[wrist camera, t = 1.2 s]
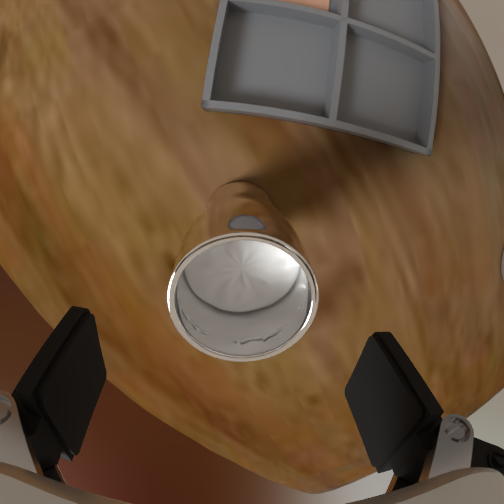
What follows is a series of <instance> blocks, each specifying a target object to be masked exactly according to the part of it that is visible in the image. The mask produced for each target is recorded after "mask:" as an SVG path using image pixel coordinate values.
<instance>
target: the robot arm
mask: <svg viewBox="0 0 504 504" xmlns="http://www.w3.org/2000/svg"><path fill="white" fill-rule="evenodd" d="M501 272H502V278H503V280H504V251H503V256H502V264H501ZM105 380H106V368H105V364H104V360H103V356H102V352H101V347H100V343H99V338H98V333H97V328H96V323H95V317H94V315H93V314H90V311H89V309H87V308H81V307H76V306H72V307H71V308H70V309H69V311H68V312H67V313H66V314H65V316H64V317H63V318H62V320H61V321H60V322H59V324H58V325H57V327H56V328H55V329H54V331H53V332H52V334H51V335H50V336H49V338H48V339H47V340H46V342H45V343H44V345H43V346H42V348H41V349H40V350H39V352H38V353H37V355H36V356H35V358H34V359H33V361H32V363H31V364H30V365H29V367H28V369H27V370H26V372H25V373H24V375H23V376H22V378H21V380H20V381H19V383H18V384H17V386H16V388H15V390H14V391H13V393H12V395H10V394H9V393H7V392H5V391H1V390H0V504H132V503H127V502H123V501H119V500H115V499H111V498H108V497H104V496H100V495H97V494H93V493H90V492H86V491H83V490H80V489H77V488H74V487H72V486H69V485H66V482H65V480H64V478H63V476H62V474H61V472H60V470H59V468H58V465H57V464H58V461H59V458H60V457H61V458H63V459H66V460H69V461H72V459H73V456H74V455H78V453H79V451H80V448H81V446H82V443H83V439H84V437H85V434H86V431H87V428H88V425H89V422H90V420H91V417H92V414H93V411H94V409H95V406H96V403H97V401H98V398H99V396H100V393H101V390H102V388H103V385H104V383H105ZM345 396H346V399H347V402H348V404H349V407H350V409H351V412H352V414H353V417H354V419H355V422H356V425H357V427H358V430H359V432H360V435H361V438H362V440H363V443H364V446H365V448H366V451H367V454H368V456H369V459H370V462H371V464H372V466H373V467H376V469H377V472H378V473H381V472H385V471H388V470H391V469H393V472H394V475H393V477H392V480H391V482H390V485H389V487H388V489H387V492H386V493H385V494H382V495H379V496H375V497H371V498H368V499H364V500H360V501H355V502H351V503H347V504H504V450H503V449H502V448H500V447H498V446H495V445H493V444H490V443H487V442H485V441H482V440H480V439H477V438H474V432H473V428H472V425H471V424H470V422H469V421H468V420H467V419H466V418H464V417H462V416H460V415H457V414H449V415H447V416H445V417H444V418H443V419H442V418H441V415H442V413H443V412H444V411H443V410H442V408H441V406H440V405H439V403H438V402H437V400H436V398H435V397H434V395H433V394H432V392H431V391H430V389H429V388H428V386H427V384H426V383H425V381H424V380H423V378H422V377H421V375H420V374H419V372H418V371H417V369H416V368H415V366H414V365H413V363H412V362H411V361H410V359H409V358H408V356H407V355H406V353H405V352H404V350H403V349H402V348H401V346H400V345H399V343H398V342H397V340H396V339H395V338H394V336H393V335H392V334H391V333H390V332H375V333H374V334H373V335H372V336H370V337H369V338H368V340H367V342H366V345H365V347H364V349H363V351H362V354H361V356H360V358H359V360H358V362H357V365H356V367H355V369H354V371H353V373H352V375H351V377H350V379H349V381H348V383H347V385H346V388H345Z"/></svg>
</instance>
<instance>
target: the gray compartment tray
mask: <svg viewBox="0 0 504 504" xmlns="http://www.w3.org/2000/svg"><path fill="white" fill-rule="evenodd" d="M439 78H440V21H439V6H438V0H220V4H219V8H218V13H217V18H216V23H215V28H214V33H213V38H212V43H211V48H210V54H209V59H208V65H207V71H206V77H205V84H204V90H203V97H202V103H201V107H202V108H203V109H204V110H205V111H215V112H225V113H235V114H243V115H251V116H258V117H265V118H272V119H278V120H284V121H290V122H295V123H301V124H306V125H311V126H316V127H321V128H325V129H330V130H334V131H338V132H343V133H347V134H351V135H355V136H358V137H362V138H366V139H370V140H373V141H377V142H380V143H383V144H387V145H390V146H393V147H397V148H400V149H403V150H406V151H409V152H412V153H416V154H422V155H427V156H431V152H432V146H433V139H434V132H435V125H436V116H437V106H438V94H439Z"/></svg>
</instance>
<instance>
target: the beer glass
mask: <svg viewBox="0 0 504 504" xmlns="http://www.w3.org/2000/svg"><path fill="white" fill-rule="evenodd" d="M318 302H319V290H318V284H317V280H316V277H315V274H314V272H313V270H312V268H311V265H310V262H309V259H308V256H307V254H306V251H305V248H304V246H303V244H302V242H301V240H300V238H299V236H298V234H297V232H296V231H295V229H294V228H293V227H292V225H291V224H290V223H289V221H288V220H287V219H286V218H285V217H284V216H283V215H282V214H281V213H280V212H279V211H278V210H276V209H275V208H274V207H273V205H272V202H271V200H270V198H269V197H268V195H267V194H266V193H265V192H264V191H263V190H262V189H261V188H259V187H258V186H256V185H254V184H251V183H248V182H232V183H228V184H226V185H224V186H222V187H220V188H219V189H218V190H216V191H215V192H214V193H213V195H212V196H211V198H210V199H209V201H208V204H207V207H206V210H205V211H204V212H202V213H201V214H200V215H199V216H198V217H197V218H196V219H195V221H194V222H193V223H192V225H191V226H190V228H189V229H188V231H187V233H186V234H185V236H184V238H183V241H182V243H181V245H180V248H179V250H178V253H177V257H176V260H175V264H174V268H173V272H172V275H171V277H170V280H169V284H168V289H167V306H168V311H169V314H170V317H171V319H172V322H173V324H174V326H175V327H176V329H177V330H178V332H179V333H180V334H181V335H182V337H183V338H184V339H185V340H186V341H187V342H189V343H190V344H191V345H192V346H194V347H195V348H196V349H198V350H200V351H201V352H203V353H205V354H207V355H210V356H212V357H215V358H218V359H222V360H227V361H235V362H249V361H257V360H262V359H266V358H269V357H272V356H275V355H277V354H279V353H281V352H283V351H285V350H287V349H288V348H290V347H291V346H292V345H294V344H295V343H296V342H297V341H298V340H299V339H300V338H301V337H302V336H303V335H304V334H305V333H306V332H307V330H308V329H309V327H310V326H311V324H312V322H313V320H314V318H315V315H316V312H317V308H318Z"/></svg>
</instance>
